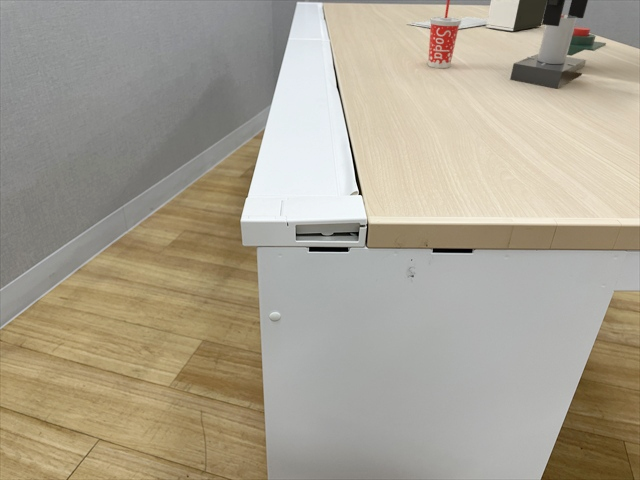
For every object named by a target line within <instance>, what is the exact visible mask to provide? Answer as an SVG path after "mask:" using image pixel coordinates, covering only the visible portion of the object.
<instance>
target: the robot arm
mask: <svg viewBox="0 0 640 480" xmlns="http://www.w3.org/2000/svg"><path fill="white" fill-rule="evenodd" d="M565 3H566V0H547V3H546V7H545V12H544V16H543V20H542V23H541V26H542V25H543V26H546V25H550V26H559V23H560V19H561V15H562V14H563V11H564V7H565ZM588 3H589V0H571V2H570V5H569V10H568V14H567V15H571V16H576V17H577V19H584V17H585V13H586V9H587V6H588Z"/></svg>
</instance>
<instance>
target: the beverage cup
mask: <svg viewBox="0 0 640 480" xmlns="http://www.w3.org/2000/svg"><path fill="white" fill-rule="evenodd" d="M450 1H451V0H446V6H445V12H444V16H433V17H430V18H429V21H430V23H431V28H430V31H429V32H430V33H429V43H428V44H429V45H428V56H427V66H428V67H430V68H434V69H435V68H436V69H449V68H450V67H451V63H452V59H453V55H454V50H455V45H456V41H457V36H458V32H459V29H458V28H459V25H461V19H457V18H455V17H448V15H449V10H450V9H449V8H450Z"/></svg>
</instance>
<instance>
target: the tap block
mask: <svg viewBox="0 0 640 480" xmlns="http://www.w3.org/2000/svg"><path fill="white" fill-rule="evenodd" d="M538 54H539V53H537V54H534V55H531V56H526V58H523V59H521V60H518V61H516V62H513V65H512V68H511V73H510V78H509V80H512V81H517V82H521V83H525V84H533V85H538V86H542V87H546V88H552V89H559V88H561V87H563V86H565V85H567V84H568V83H570V82H572V81H574V80H576V79H579V78H580V77H581V76H583V73H582V72H576V71H578V70H581V69H582V68H584V67H585V65H586V63H587V59H585V58H584V59H583V58H578V57H572V56H567V57H566V60H565V63H564V64H548V63H543V62H539V61H538V60H537V58H538Z"/></svg>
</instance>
